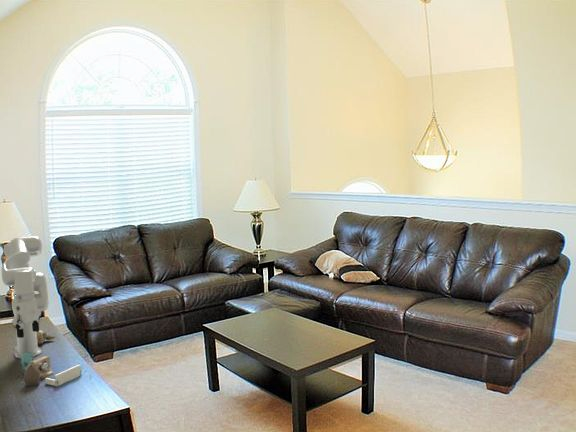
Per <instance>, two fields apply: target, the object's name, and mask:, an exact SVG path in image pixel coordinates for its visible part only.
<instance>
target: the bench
mask: <svg viewBox="0 0 576 432" xmlns="http://www.w3.org/2000/svg"><path fill="white" fill-rule="evenodd" d="M39 363H48V364H49V369H48V371H46V372H44V371H42V370H39ZM31 365H34V366H35V368H36V369H38V371H39V372H40V379H45V378H47V377H48V376H51V375H53V374H54V371H51V370H52V369H51V361H50V356H42V357H38V358H37V359H33V361H32V362H31ZM24 373H25V371H24V372H23V374H24Z"/></svg>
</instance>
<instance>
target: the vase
mask: <svg viewBox="0 0 576 432" xmlns="http://www.w3.org/2000/svg"><path fill="white" fill-rule="evenodd" d="M24 372H25V373H24ZM24 372H23V382H24V384H25V385H26V386H28V387H33V386H37V385H38V384H39V383H40V380H41V378H40V372H39V371H38V369H36V368H35V366H34V365H30V366H28V368H27V370H25V371H24Z"/></svg>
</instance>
